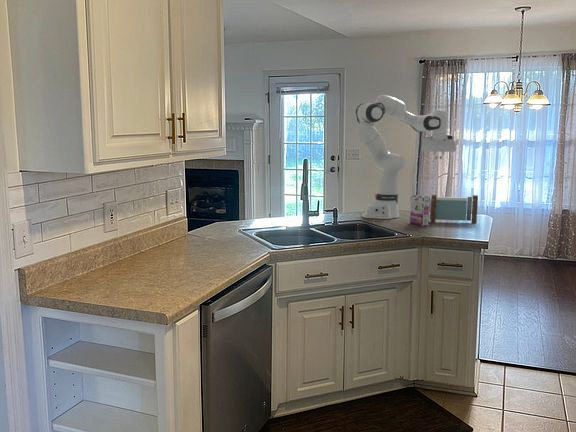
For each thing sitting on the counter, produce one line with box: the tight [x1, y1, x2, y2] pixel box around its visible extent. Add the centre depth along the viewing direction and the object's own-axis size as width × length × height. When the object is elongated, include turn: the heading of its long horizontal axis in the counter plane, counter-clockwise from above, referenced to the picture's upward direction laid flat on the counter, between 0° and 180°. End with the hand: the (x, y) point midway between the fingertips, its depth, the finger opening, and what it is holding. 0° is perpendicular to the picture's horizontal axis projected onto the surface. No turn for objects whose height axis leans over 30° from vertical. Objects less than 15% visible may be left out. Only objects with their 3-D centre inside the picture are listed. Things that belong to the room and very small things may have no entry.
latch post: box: [430, 194, 437, 224], centre depth 320 cm, size 2×2×16 cm
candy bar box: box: [409, 194, 431, 227], centre depth 314 cm, size 11×5×16 cm, turn 25°
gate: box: [429, 196, 473, 222], centre depth 321 cm, size 23×2×14 cm, turn 80°
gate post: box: [471, 194, 479, 225], centre depth 318 cm, size 2×3×16 cm
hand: (438, 159), depth 345 cm, fingers closed
